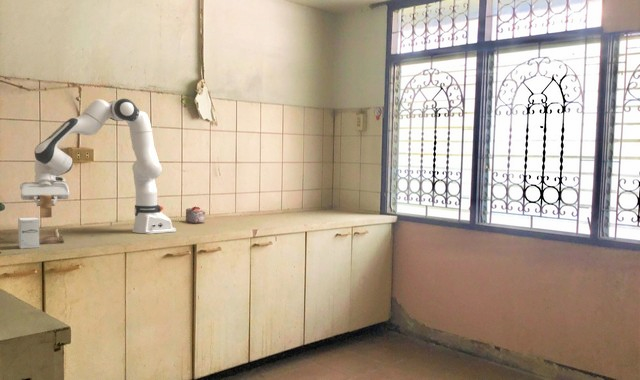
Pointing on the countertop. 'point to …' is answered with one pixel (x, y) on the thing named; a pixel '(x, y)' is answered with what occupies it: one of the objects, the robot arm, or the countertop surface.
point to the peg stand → (51, 238)
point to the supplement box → (28, 233)
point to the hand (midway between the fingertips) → (45, 205)
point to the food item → (195, 215)
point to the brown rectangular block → (45, 206)
